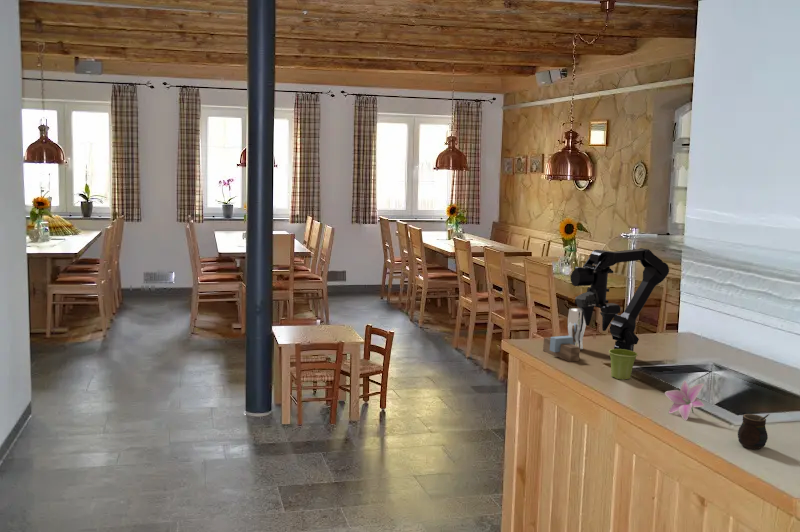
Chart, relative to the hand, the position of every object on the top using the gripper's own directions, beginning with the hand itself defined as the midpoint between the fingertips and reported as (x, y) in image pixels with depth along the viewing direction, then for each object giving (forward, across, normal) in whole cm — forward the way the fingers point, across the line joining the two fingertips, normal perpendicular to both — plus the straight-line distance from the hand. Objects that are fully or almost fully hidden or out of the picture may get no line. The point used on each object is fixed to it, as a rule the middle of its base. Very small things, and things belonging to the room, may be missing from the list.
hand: (595, 328), depth 291 cm
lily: (+12, +59, -14) cm, 62 cm away
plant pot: (+12, +21, -6) cm, 25 cm away
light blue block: (+10, -8, -8) cm, 15 cm away
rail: (+12, -9, -8) cm, 17 cm away
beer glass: (+12, -17, +5) cm, 21 cm away
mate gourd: (+12, +85, -17) cm, 87 cm away
